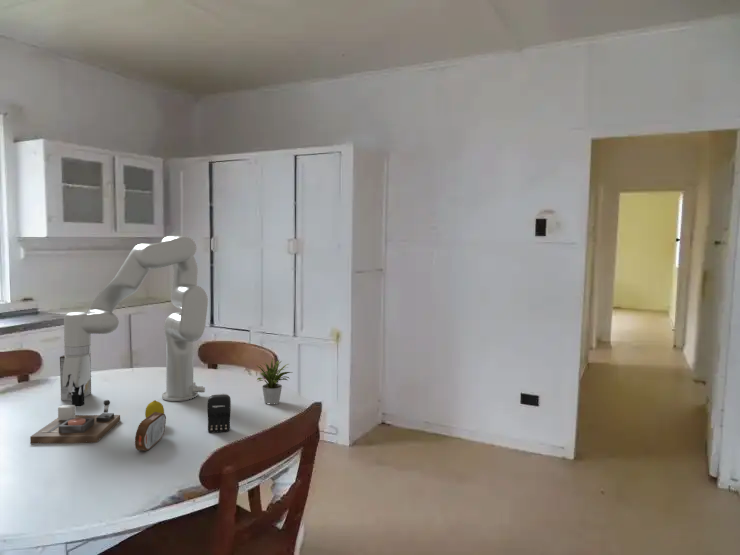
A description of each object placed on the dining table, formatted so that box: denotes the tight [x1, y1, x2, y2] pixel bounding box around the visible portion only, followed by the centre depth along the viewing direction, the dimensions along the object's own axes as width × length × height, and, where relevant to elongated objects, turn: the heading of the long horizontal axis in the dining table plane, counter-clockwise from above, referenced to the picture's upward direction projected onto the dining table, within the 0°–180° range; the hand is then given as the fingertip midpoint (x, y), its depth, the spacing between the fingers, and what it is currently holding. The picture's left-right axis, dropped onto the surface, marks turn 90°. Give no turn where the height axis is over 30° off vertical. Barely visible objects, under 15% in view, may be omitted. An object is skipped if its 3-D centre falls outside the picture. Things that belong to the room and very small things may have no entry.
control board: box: [29, 412, 121, 444], centre depth 158 cm, size 18×18×4 cm
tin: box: [134, 412, 167, 452], centre depth 150 cm, size 15×3×8 cm, turn 178°
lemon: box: [144, 400, 165, 419], centre depth 165 cm, size 6×6×8 cm
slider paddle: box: [57, 404, 76, 420], centre depth 163 cm, size 4×2×4 cm, turn 96°
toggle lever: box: [103, 399, 111, 413], centre depth 165 cm, size 2×2×4 cm
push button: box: [68, 418, 86, 425], centre depth 156 cm, size 5×5×2 cm
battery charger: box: [206, 393, 232, 433], centre depth 161 cm, size 7×4×11 cm, turn 103°
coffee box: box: [59, 355, 92, 401], centre depth 191 cm, size 9×6×16 cm
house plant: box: [256, 358, 293, 404], centre depth 189 cm, size 14×14×16 cm
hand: (78, 405), depth 171 cm, fingers closed
